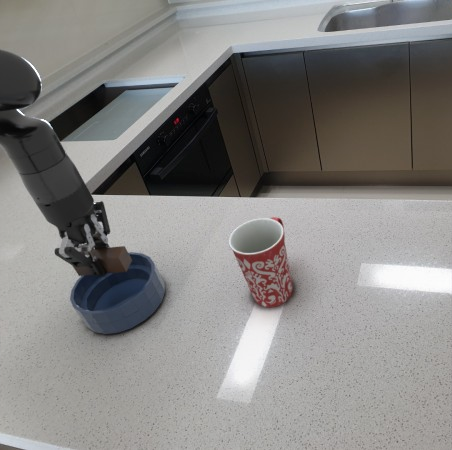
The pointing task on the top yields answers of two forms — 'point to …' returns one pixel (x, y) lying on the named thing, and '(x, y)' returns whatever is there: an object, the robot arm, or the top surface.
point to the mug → (263, 260)
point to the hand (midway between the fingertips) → (105, 267)
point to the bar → (109, 260)
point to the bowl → (119, 296)
